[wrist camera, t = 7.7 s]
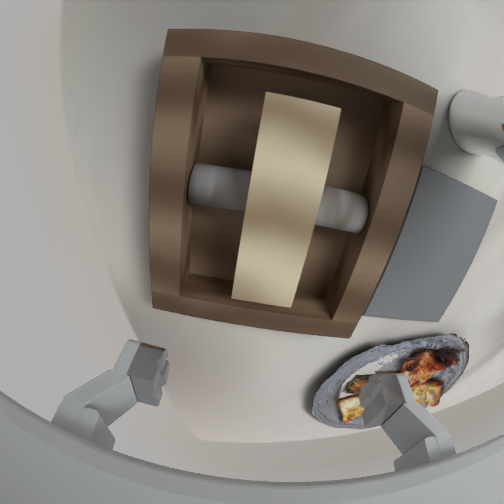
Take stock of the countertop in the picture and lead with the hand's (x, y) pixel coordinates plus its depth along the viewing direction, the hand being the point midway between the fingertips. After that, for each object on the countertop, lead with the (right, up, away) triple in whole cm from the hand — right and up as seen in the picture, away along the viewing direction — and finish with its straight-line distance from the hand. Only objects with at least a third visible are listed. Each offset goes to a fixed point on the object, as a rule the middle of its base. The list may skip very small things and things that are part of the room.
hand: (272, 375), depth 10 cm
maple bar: (+1, +7, +8) cm, 11 cm away
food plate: (+20, -15, +25) cm, 35 cm away
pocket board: (+1, +10, +12) cm, 15 cm away
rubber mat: (+18, +4, +14) cm, 23 cm away
